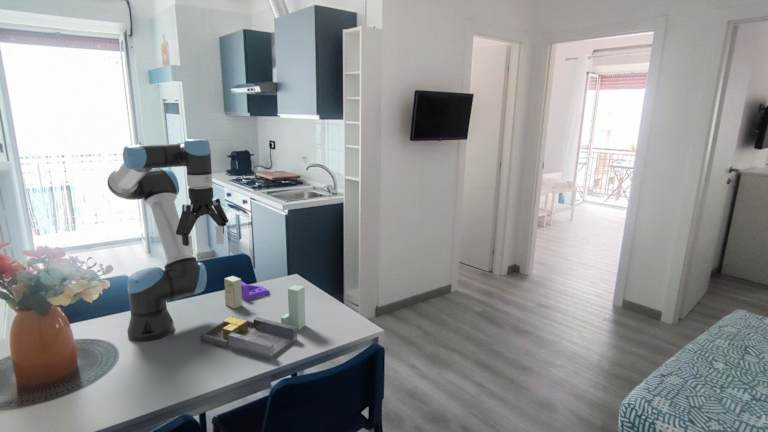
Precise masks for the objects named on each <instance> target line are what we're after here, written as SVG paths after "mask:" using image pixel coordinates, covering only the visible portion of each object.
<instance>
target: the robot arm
mask: <svg viewBox="0 0 768 432" xmlns="http://www.w3.org/2000/svg"><path fill="white" fill-rule="evenodd" d="M211 152H212V151H211V146H210V141H209V140H208V139H207V138H206V139H203V138H188V139H185V140H184V142H179V143H168V144H165V143H164V144H133V145H132V144H131V145H126V146H125V147H124V148H123V150H122V159H123V163H122V164H121V165H120V167H118V168H117V169H115V170H113V171H112V172H111V173H110V174H109V176H108V178H107V187H108V189H109V191H110V192H111V193H112V194H114V196H117V197H118V198H120V199H123V200H124V199H125V200H131V201H132V200H133V201H134V200H144V203H145V205H146V206H148V207H150V208H151V212H152V215H153V218H154V222H155V225H156V229H157V232H158V235H159V239H160V242H161V245H162V248H163V251H164V256H165V259H166V263H165V264H164V266H163V268H162V267H157V266H156V267H155V266H154V267H147V268H144V269H140V270H138V271H135V272H134V273H132V274H131V275H130V276H129V277H128V279H127V293H128V300H129V310H130V319H129V322H128V323H129V324H128V327H127V337H128V339H130V340H131V341H135V342H149V341H155V340H158V339H161V338H163V337H166V336H168V335H169V334H171V333H172V332H173V331H174V328H175V325H174V320H173V318H172V315H170V312H169V310H168V308H167V306H168V305H167V303H168V302H170V301H174V300H178V299H181V298H186V297H190V296H194V295H197V294H199V293H202V292H203V291H204V290H205V289H206V286H207V281H208V280H207V279H208V276H207V275H208V274H207V269H206V266H205V264H204V263H203V262H198V260H197V257H196V256H194V252H193V251H194V249H193V248H194V247H193V237H192V235H190V234H191V232H192V231H193V228H194V227H195V224H196V223H197V220H198V219H199V218H200V217H203V216H204V215H209V217H210V218H211V219H212V220H213V222H215V224H217V225H215V226H214V227H215V239H216V244H217V245H225V239H224V237H225V236H224V234H225V227H226V226H227V224H228V223H229V219H228V217H227V215H226V213H225V211H224V208H223V206H222V205H221V199H220V198H216V197H214V188H213V187H212V186H213V171H212V155H211ZM177 167H178V168H179V167H185V168H186V180H187V181H186V182H187V187H189V188H188V189H187V191H188V199H189V200H190V204H182V206H181V214H180V215H179V214H178V210H177V207H176V203H175V202H176V199H177V196H178V195H179V193H180V186H179V181H178V178H177V176H176V173H175V172H173V170H172V169H170V168H177ZM179 216H180V217H179Z"/></svg>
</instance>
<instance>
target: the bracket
mask: <svg viewBox="0 0 768 432" xmlns="http://www.w3.org/2000/svg"><path fill="white" fill-rule="evenodd" d="M241 286H242V301H244V302H248V301H251V300H254V299H257V298H261V297H264V296H268V295H270V294H271V291H270V289H267V288H266V287H264V286H260V285H254V284H247V283H245V282H244V281H242V280H241Z"/></svg>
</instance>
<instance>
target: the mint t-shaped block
mask: <svg viewBox="0 0 768 432" xmlns="http://www.w3.org/2000/svg"><path fill="white" fill-rule="evenodd" d="M305 289H306V288H305V286H302V285H298V284H294V285H292V286H290V287H288V288H287V298H288V299H287V303H288V304H287V305H288V312H287V313H286V314H284V315H283V316H281V317H280V323H282V324H286V325H290V326H294V327H297V331H300V330H301V329H303V328H304V327H305V326H306V301H305V299H306V297H305V296H306V295H305Z"/></svg>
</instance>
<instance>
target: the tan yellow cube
mask: <svg viewBox="0 0 768 432" xmlns="http://www.w3.org/2000/svg"><path fill="white" fill-rule="evenodd" d="M243 319H244V318H242V319H238V320H236V321H234V322H232V323H231V324H234V325H238V326H239V329H240V335H242V334H244V333H245V332H247V331H248V321H246V320H247V319H245V320H243Z"/></svg>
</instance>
